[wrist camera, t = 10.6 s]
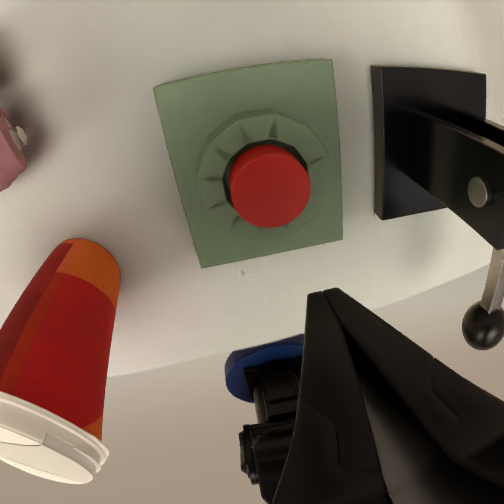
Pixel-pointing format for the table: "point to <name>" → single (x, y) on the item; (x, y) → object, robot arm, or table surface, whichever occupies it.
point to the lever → (487, 309)
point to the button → (268, 186)
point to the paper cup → (59, 365)
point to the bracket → (437, 147)
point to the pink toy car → (10, 151)
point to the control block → (245, 137)
